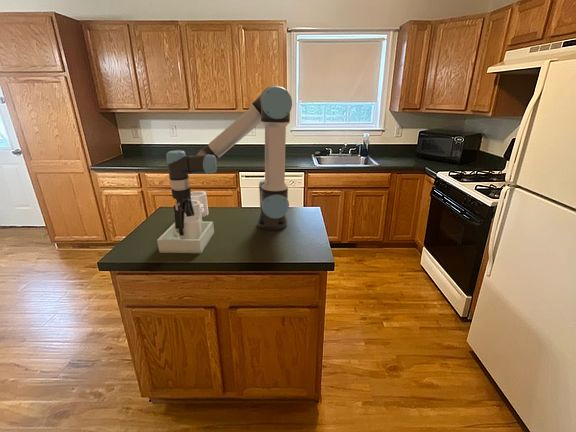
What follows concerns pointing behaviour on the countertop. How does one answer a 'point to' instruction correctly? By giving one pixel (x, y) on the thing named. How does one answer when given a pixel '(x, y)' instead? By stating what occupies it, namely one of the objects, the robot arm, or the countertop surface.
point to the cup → (191, 227)
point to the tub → (185, 240)
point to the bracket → (199, 204)
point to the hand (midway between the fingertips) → (187, 236)
